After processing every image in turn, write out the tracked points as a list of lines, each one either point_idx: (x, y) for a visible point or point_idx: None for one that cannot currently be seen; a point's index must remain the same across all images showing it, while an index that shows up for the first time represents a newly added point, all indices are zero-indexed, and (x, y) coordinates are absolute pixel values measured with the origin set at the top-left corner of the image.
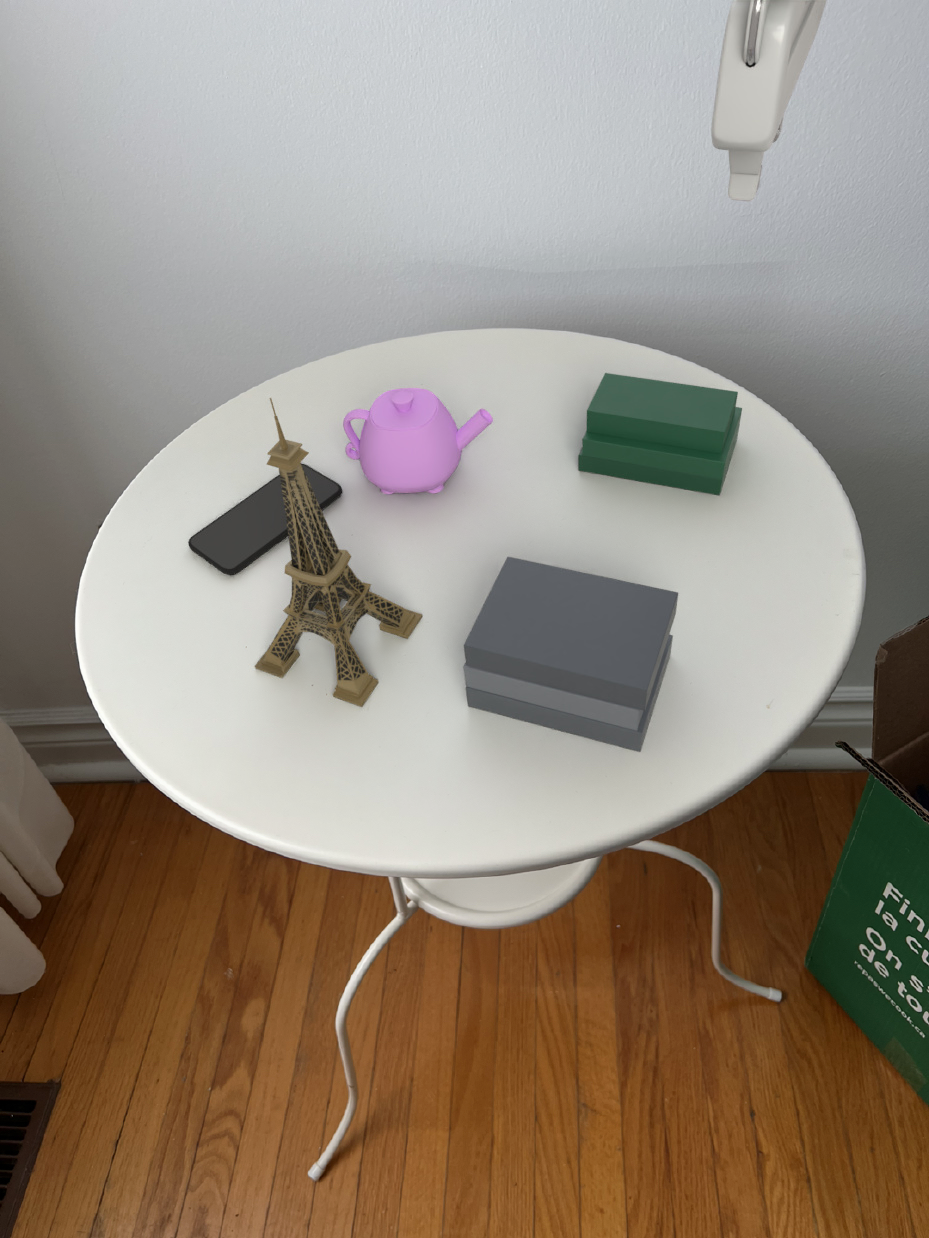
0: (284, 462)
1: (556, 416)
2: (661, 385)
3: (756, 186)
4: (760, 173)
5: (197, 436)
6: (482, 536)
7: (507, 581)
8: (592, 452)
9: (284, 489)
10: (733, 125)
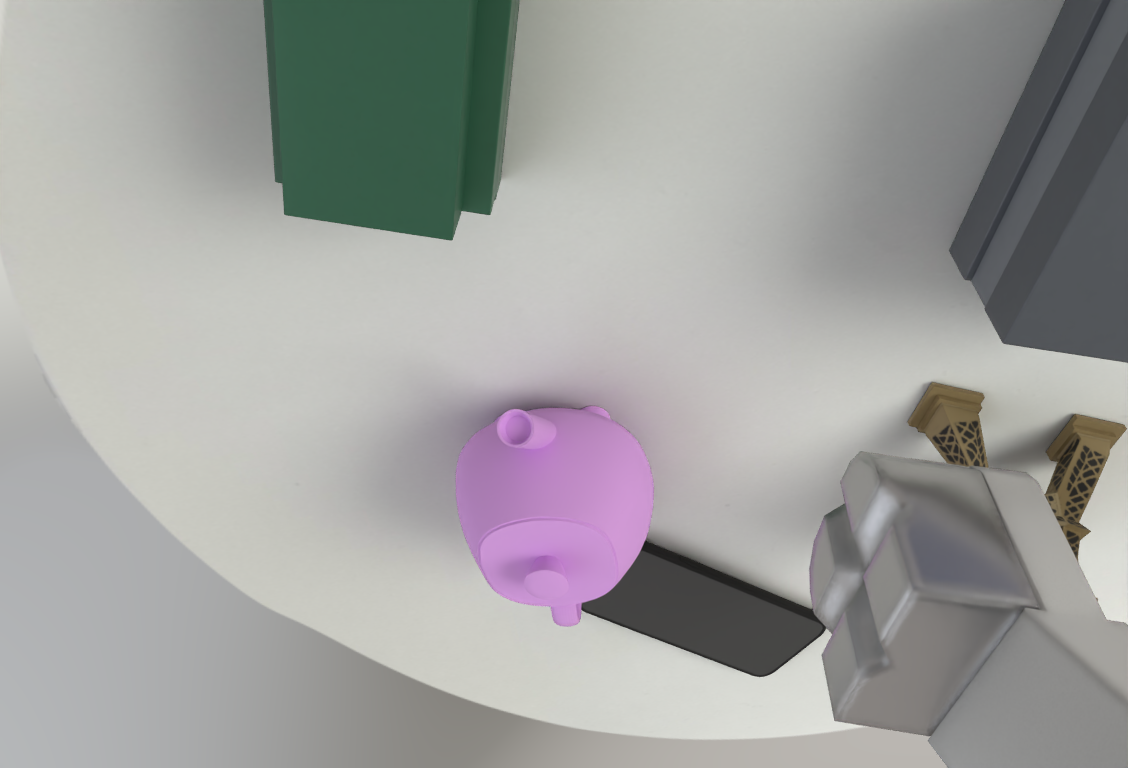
0: None
1: (321, 246)
2: (298, 68)
3: (1058, 537)
4: (949, 556)
5: (518, 709)
6: (722, 325)
7: (1080, 334)
8: (496, 177)
9: None
10: None
